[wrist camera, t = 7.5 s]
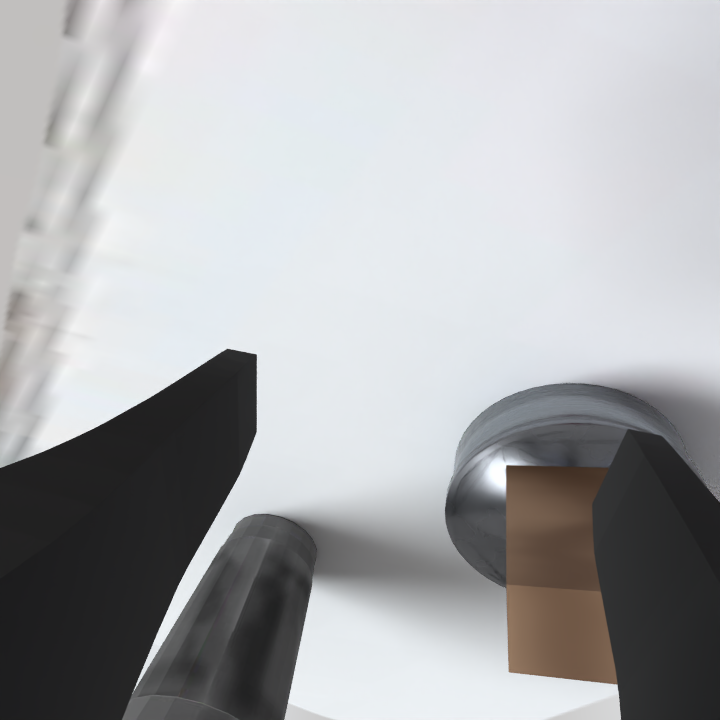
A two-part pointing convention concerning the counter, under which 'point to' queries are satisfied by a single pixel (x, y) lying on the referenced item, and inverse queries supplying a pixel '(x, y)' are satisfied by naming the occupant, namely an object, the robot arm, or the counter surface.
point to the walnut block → (555, 575)
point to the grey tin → (536, 455)
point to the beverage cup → (235, 631)
